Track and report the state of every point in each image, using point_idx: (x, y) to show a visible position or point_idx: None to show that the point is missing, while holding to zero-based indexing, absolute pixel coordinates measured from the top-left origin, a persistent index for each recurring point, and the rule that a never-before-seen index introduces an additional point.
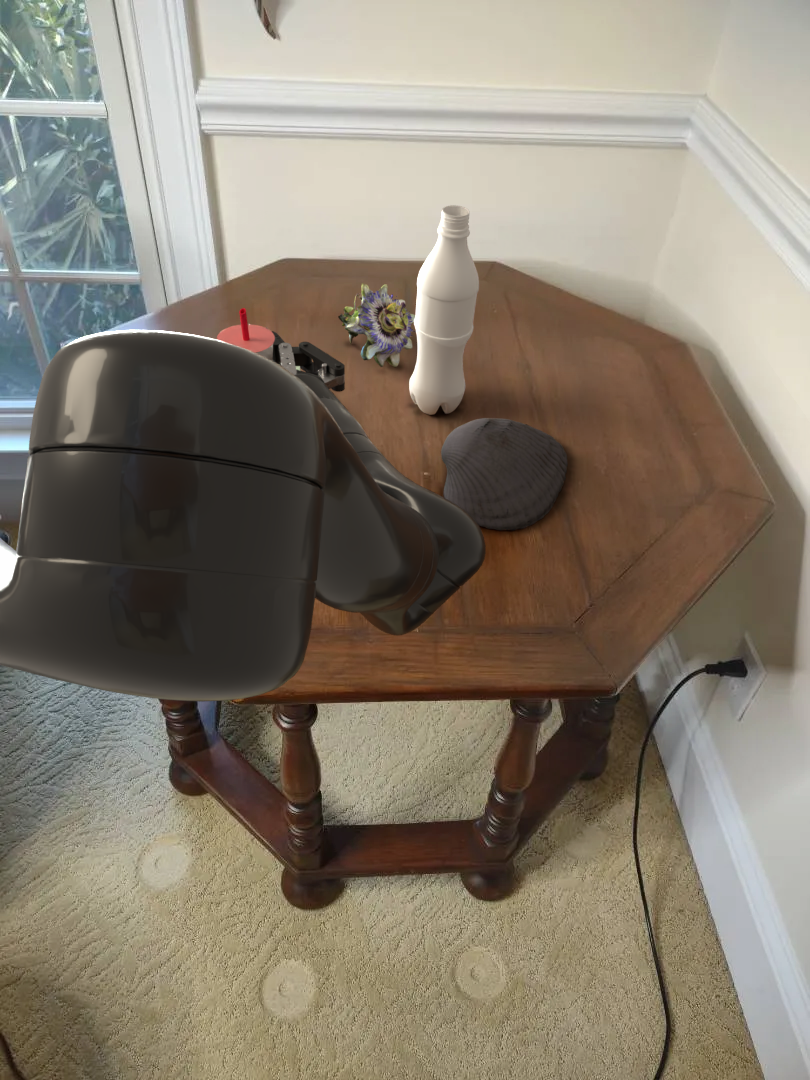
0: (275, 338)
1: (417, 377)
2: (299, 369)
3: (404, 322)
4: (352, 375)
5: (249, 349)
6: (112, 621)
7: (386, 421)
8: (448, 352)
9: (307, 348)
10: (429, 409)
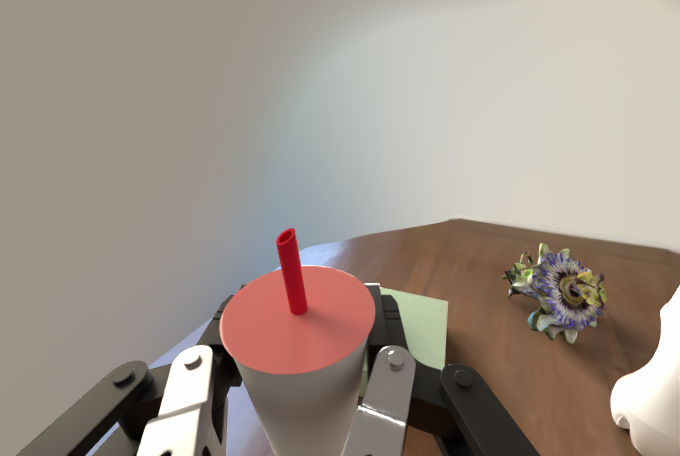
0: (382, 321)
1: (648, 404)
2: (446, 321)
3: (601, 299)
4: (509, 338)
5: (272, 352)
6: None
7: (567, 445)
8: None
9: (469, 404)
10: None
